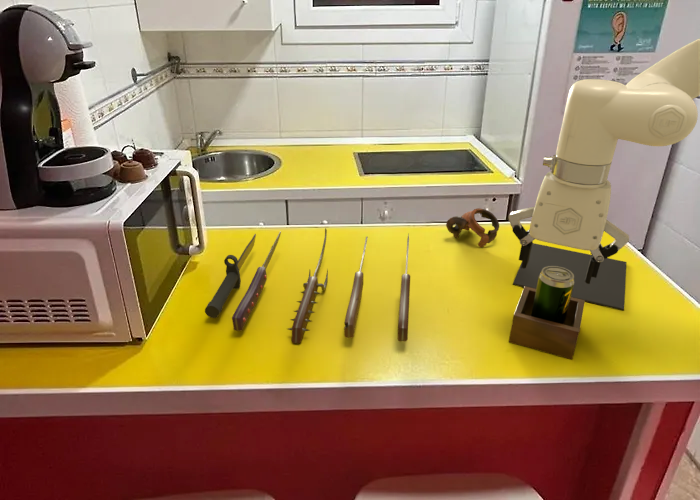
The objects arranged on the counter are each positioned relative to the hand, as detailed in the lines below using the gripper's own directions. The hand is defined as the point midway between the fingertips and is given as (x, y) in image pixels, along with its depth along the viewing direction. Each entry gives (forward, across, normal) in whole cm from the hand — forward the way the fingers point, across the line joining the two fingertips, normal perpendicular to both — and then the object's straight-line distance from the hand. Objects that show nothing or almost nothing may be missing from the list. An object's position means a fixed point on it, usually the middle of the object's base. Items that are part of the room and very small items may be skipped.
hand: (555, 272), depth 83 cm
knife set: (+13, -40, -6) cm, 43 cm away
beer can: (+12, 0, 0) cm, 12 cm away
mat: (+12, +2, +24) cm, 27 cm away
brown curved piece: (+13, -20, +30) cm, 39 cm away
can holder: (+12, 0, 0) cm, 12 cm away
